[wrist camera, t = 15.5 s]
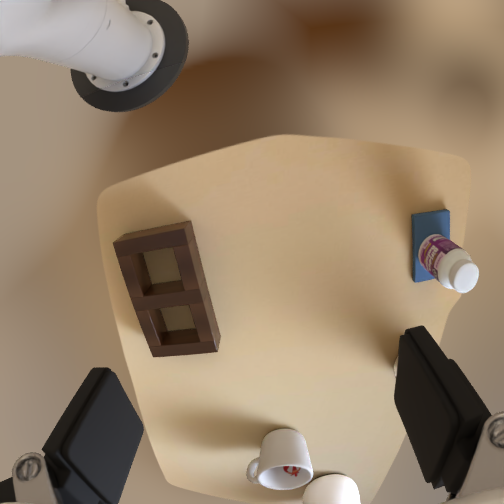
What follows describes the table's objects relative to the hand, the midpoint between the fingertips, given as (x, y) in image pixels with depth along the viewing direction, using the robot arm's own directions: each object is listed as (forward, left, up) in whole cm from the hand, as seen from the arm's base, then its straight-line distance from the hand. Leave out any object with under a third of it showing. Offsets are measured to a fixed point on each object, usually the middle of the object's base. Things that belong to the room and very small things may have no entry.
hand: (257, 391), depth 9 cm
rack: (+10, -14, -33) cm, 38 cm away
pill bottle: (+11, +23, -32) cm, 41 cm away
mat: (+10, +23, -33) cm, 42 cm away
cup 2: (+67, +5, -34) cm, 75 cm away
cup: (+46, -5, -34) cm, 57 cm away
